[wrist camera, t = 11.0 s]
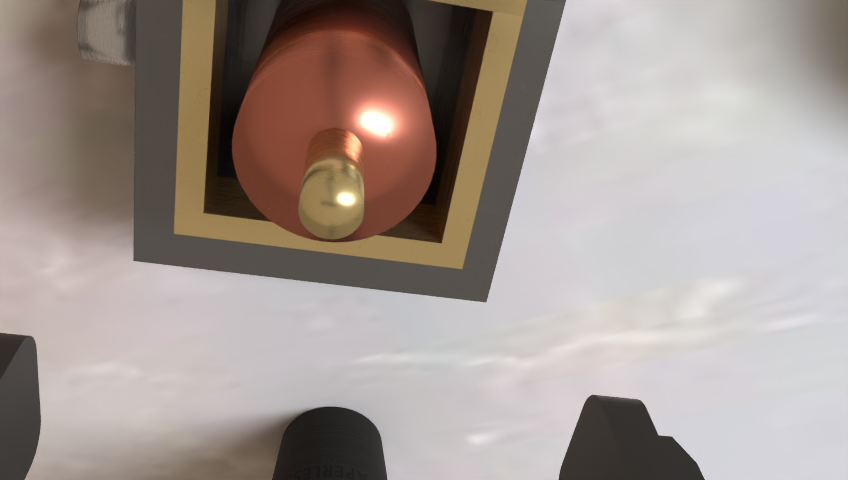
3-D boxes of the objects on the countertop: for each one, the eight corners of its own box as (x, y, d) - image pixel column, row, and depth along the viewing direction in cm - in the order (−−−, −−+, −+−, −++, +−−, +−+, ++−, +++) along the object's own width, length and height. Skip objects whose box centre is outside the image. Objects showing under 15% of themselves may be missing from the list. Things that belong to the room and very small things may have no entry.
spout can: (278, -45, 27) (219, 82, 16) (425, -20, 28) (469, 118, 17) (265, 96, 30) (206, 294, 18) (401, 116, 30) (424, 318, 19)
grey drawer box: (118, -233, 25) (16, -237, 18) (553, -145, 27) (625, -116, 20) (118, 175, 32) (43, 296, 24) (467, 221, 34) (496, 345, 26)
